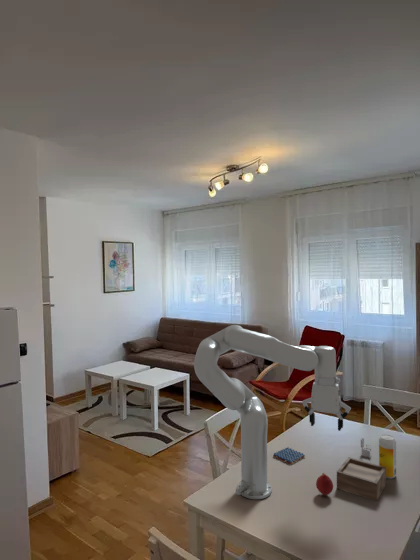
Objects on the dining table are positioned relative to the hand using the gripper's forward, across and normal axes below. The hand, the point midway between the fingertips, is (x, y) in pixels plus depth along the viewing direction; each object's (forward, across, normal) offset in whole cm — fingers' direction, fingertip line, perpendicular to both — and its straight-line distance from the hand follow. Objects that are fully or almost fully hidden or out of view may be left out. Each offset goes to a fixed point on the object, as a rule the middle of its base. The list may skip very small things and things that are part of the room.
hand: (326, 427), depth 139 cm
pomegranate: (+24, 0, +3) cm, 24 cm away
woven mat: (+24, +20, -19) cm, 37 cm away
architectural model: (+24, -12, -40) cm, 49 cm away
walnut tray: (+24, -11, -9) cm, 27 cm away
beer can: (+24, -19, -22) cm, 38 cm away
